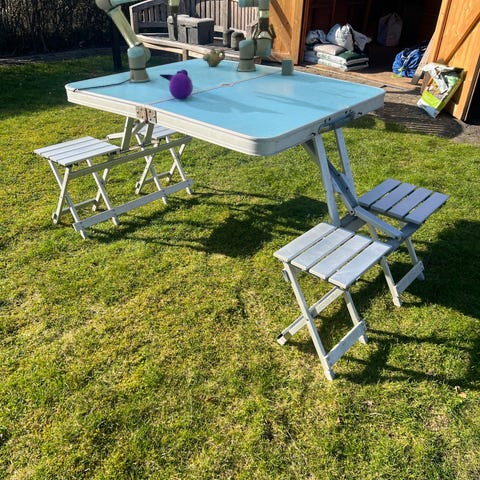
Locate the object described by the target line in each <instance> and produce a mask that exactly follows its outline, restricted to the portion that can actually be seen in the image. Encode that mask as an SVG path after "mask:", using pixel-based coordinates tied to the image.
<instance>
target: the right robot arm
mask: <svg viewBox="0 0 480 480" xmlns="http://www.w3.org/2000/svg"><path fill="white" fill-rule="evenodd" d="M237 2H238V3H237V4H238V8H242V9H243V8H257V24H256V25H254V29H253V31H252V34H251V37H250V38H248V39H243V40H241V41H239V43H238V49H239V50H238V54H239V55H238V56H239V57H238V59H239V61H238V65H237V67H236V70H237V72H241V73H250V72H255V71H256V70H257V68H256V63H255V61H254V58H261V57H262V58H263V57H264V58H265V57H266V58H267V57H270V56H271V55H272V50H273V49H274V44H275V39H276V38H277V36H278V35H277V33H276V32H275V28H274V24H273V23H270V5H271V2H272V0H237Z"/></svg>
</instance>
